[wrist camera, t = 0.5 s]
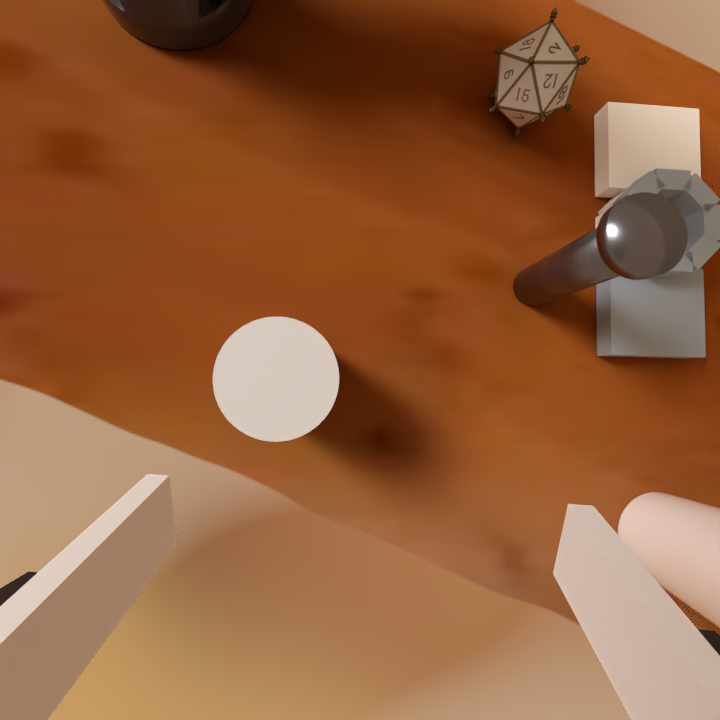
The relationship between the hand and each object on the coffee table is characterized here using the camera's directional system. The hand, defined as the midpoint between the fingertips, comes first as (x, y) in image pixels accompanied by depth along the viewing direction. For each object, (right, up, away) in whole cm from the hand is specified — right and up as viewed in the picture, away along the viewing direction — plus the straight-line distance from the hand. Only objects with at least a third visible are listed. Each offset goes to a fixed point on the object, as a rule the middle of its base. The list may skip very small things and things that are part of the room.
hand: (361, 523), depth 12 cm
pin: (+18, +13, +26) cm, 34 cm away
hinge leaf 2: (+30, +15, +27) cm, 43 cm away
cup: (-6, +4, +24) cm, 25 cm away
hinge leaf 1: (+30, +23, +27) cm, 46 cm away
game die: (+16, +32, +27) cm, 45 cm away
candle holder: (+30, -12, +25) cm, 41 cm away
